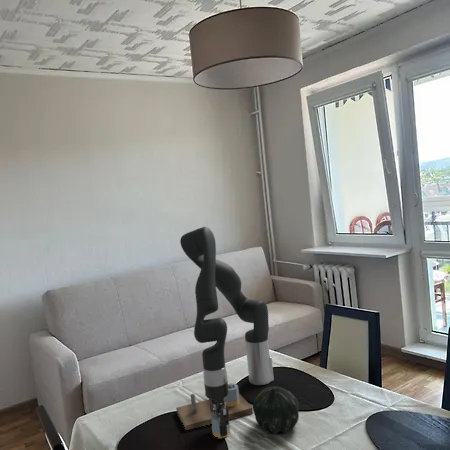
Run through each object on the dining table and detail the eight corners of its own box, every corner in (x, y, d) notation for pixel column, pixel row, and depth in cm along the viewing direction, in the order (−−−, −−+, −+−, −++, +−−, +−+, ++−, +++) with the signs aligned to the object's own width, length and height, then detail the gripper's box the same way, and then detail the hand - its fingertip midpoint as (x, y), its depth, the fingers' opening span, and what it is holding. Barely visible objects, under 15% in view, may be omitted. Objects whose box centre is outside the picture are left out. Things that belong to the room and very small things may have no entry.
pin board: (238, 397, 169) (236, 374, 168) (252, 413, 155) (250, 388, 155) (176, 412, 161) (174, 389, 160) (186, 431, 148) (183, 405, 147)
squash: (273, 393, 157) (255, 373, 148) (312, 404, 148) (294, 383, 139) (258, 432, 150) (238, 414, 141) (297, 447, 141) (278, 428, 132)
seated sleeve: (236, 398, 163) (234, 382, 163) (241, 404, 159) (239, 387, 158) (222, 401, 162) (221, 385, 161) (227, 407, 157) (225, 391, 156)
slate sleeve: (226, 427, 148) (224, 410, 147) (231, 435, 143) (229, 417, 142) (211, 431, 146) (209, 414, 145) (216, 439, 141) (214, 421, 140)
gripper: (234, 386, 137) (239, 438, 139) (219, 370, 151) (224, 418, 152) (211, 391, 135) (216, 445, 136) (198, 375, 149) (203, 423, 150)
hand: (220, 430), depth 144 cm, fingers closed on slate sleeve, 5 cm apart
